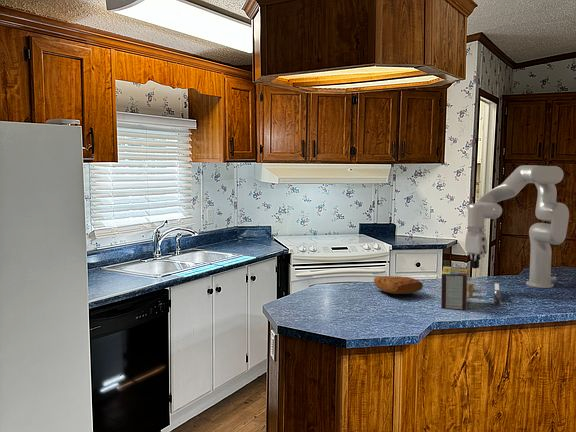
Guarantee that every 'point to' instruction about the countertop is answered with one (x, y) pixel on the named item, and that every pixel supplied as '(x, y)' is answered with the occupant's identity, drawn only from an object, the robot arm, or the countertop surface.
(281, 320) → the countertop surface
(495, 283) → the white long bar
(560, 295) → the countertop surface
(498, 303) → the knob on square plate
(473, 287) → the tan cube
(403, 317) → the countertop surface
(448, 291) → the protein box
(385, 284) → the cuneiform tablet
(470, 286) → the stile
